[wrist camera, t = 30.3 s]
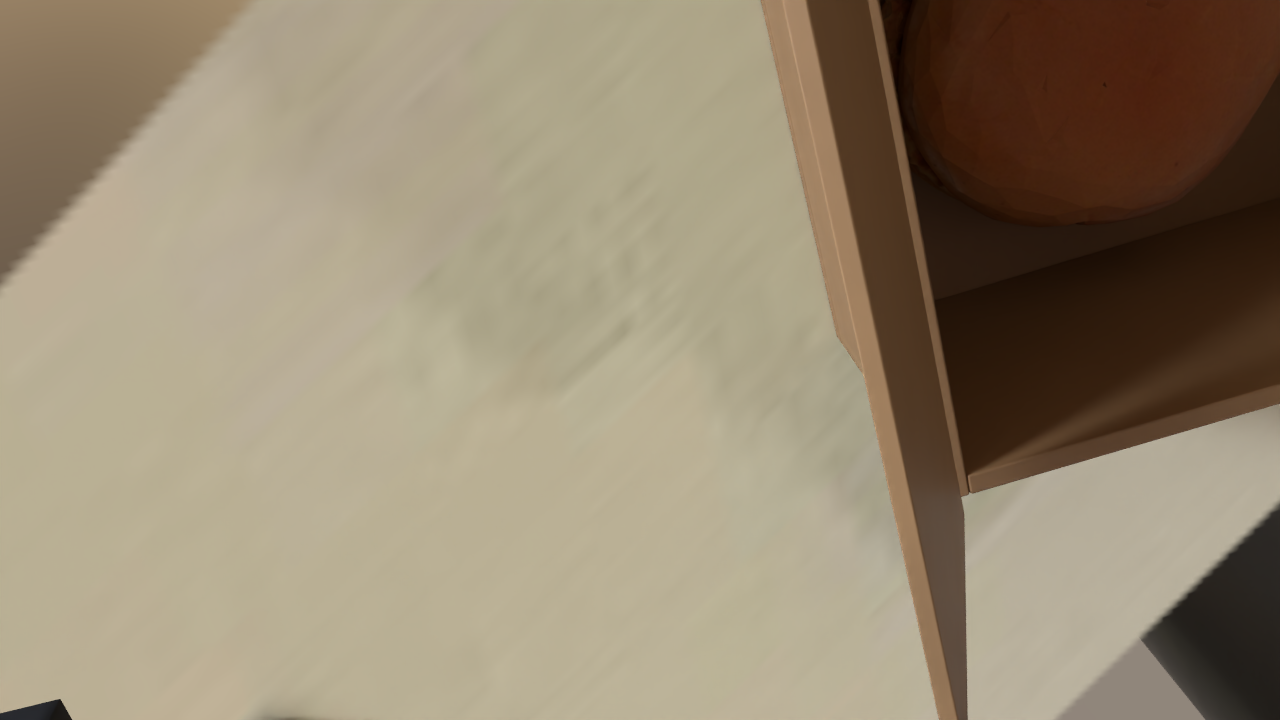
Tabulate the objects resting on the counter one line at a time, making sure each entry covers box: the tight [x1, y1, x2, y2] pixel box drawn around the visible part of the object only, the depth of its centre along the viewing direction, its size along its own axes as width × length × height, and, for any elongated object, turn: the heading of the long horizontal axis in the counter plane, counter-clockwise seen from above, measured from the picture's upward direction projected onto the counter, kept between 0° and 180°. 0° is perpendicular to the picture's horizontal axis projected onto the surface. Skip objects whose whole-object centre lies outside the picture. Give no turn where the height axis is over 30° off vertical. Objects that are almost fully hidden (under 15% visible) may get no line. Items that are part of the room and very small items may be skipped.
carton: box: [761, 0, 1280, 497], centre depth 25 cm, size 14×14×10 cm
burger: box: [881, 0, 1280, 227], centre depth 27 cm, size 10×9×5 cm
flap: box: [781, 0, 968, 720], centre depth 18 cm, size 14×7×1 cm
